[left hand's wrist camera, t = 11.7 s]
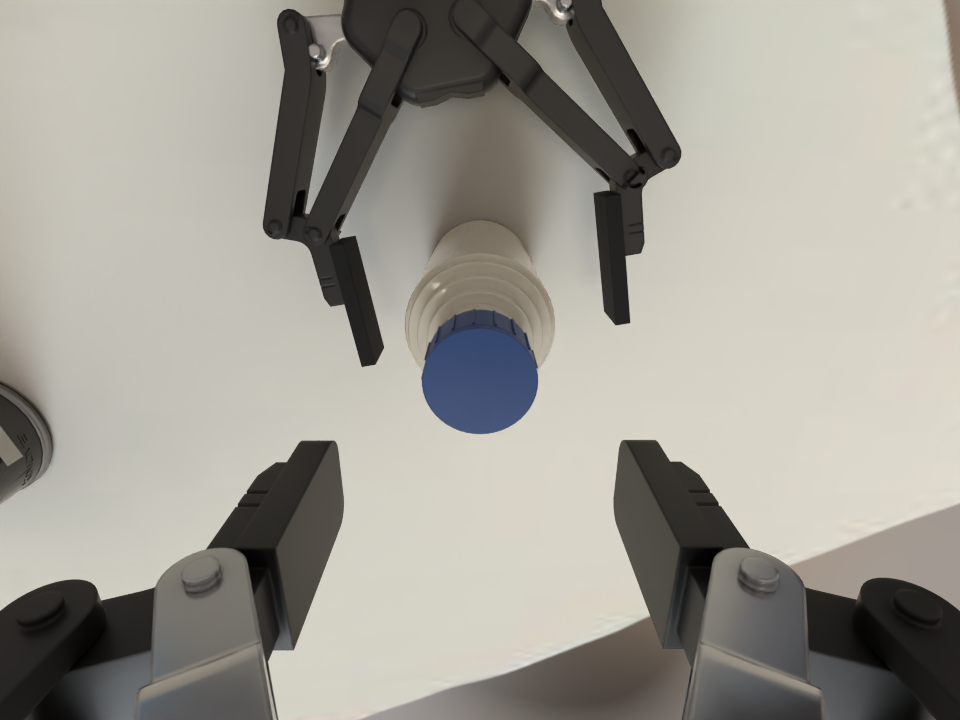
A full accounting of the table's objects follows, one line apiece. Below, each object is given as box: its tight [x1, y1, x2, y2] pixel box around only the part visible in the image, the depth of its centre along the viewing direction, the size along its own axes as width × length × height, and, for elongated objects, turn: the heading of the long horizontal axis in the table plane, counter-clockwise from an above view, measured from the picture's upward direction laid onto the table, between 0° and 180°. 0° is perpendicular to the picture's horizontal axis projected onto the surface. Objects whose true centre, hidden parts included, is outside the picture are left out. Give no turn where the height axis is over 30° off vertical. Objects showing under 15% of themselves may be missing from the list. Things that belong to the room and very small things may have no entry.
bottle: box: [405, 220, 555, 371], centre depth 25 cm, size 6×6×18 cm
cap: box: [422, 309, 538, 434], centre depth 18 cm, size 4×4×2 cm
